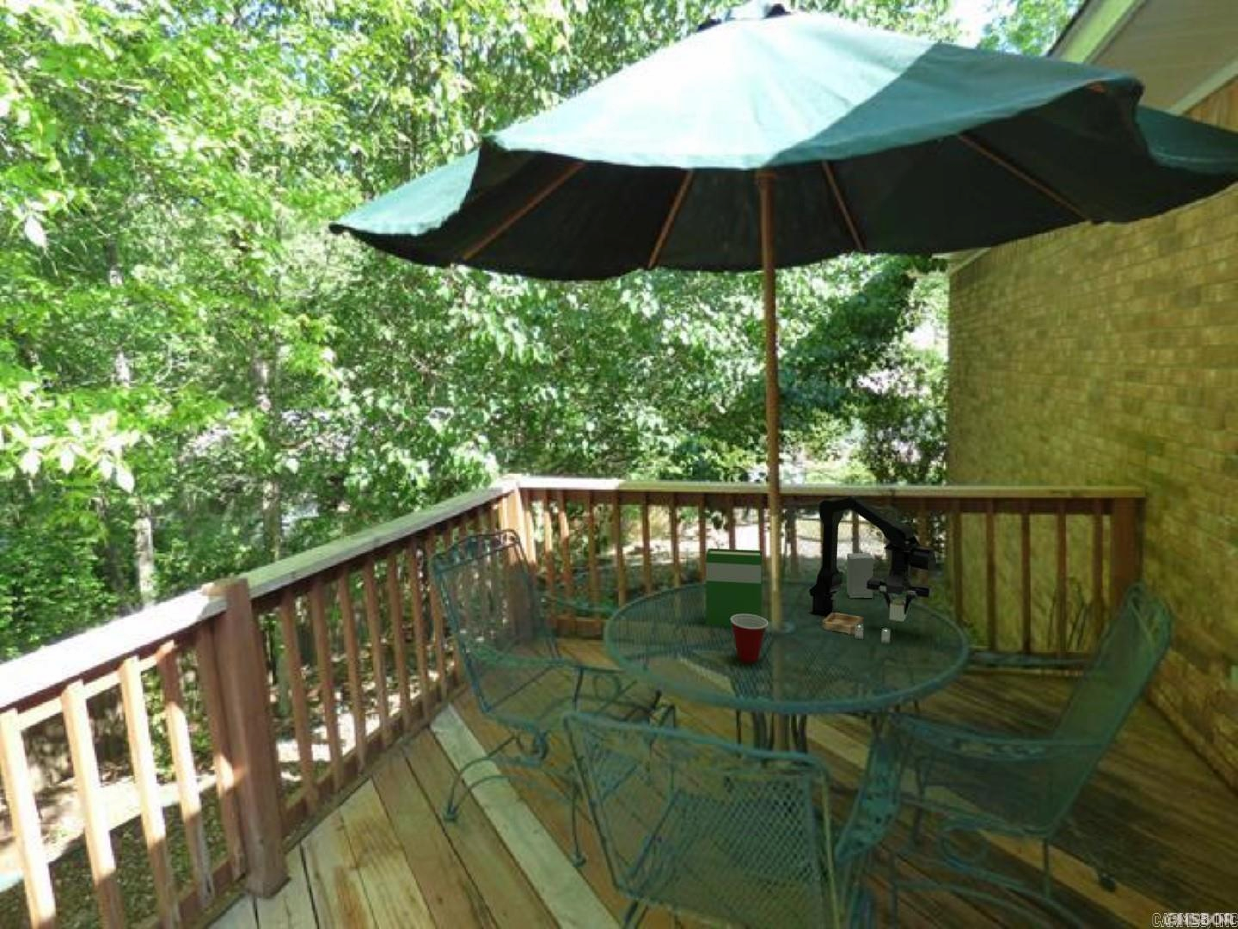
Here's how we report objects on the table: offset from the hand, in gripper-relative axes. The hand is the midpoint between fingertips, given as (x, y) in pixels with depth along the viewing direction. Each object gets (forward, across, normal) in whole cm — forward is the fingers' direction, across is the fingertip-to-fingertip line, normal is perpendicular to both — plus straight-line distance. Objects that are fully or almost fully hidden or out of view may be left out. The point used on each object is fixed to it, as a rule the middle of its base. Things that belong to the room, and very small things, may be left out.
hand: (898, 613), depth 240 cm
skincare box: (+6, -20, +31) cm, 37 cm away
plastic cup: (+6, -32, -44) cm, 55 cm away
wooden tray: (+6, -16, -4) cm, 18 cm away
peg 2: (+6, -1, -11) cm, 13 cm away
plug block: (+2, 0, 0) cm, 2 cm away
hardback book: (+6, -48, -18) cm, 52 cm away
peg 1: (+6, -9, -11) cm, 16 cm away
